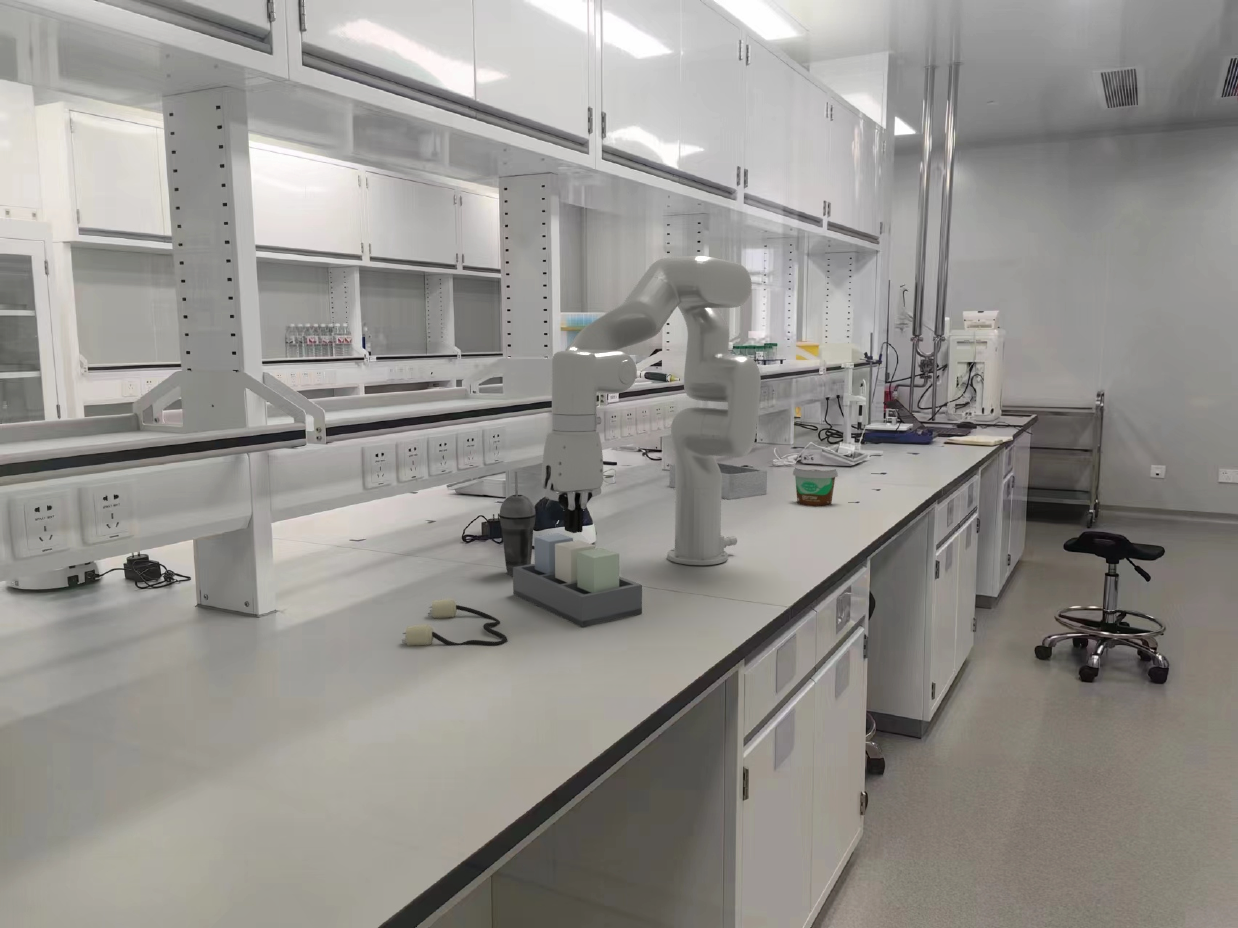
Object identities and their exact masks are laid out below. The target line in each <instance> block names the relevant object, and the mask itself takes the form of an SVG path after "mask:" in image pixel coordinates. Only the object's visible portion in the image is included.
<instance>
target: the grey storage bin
mask: <svg viewBox="0 0 1238 928" xmlns="http://www.w3.org/2000/svg"><path fill="white" fill-rule="evenodd" d="M716 462H717V461H716ZM717 464H718V466H719V468H720V471H721V476H722V487H721V499H727V500H735V499H742V498H749V497H756V496H757V497H758V496H763V495H767V494H768V493H767V492H768V491H767V488H768V487H767V485H768V470H764V469H758V468H753V467H746V466H742V465H741V466H740V465H735V464H729V463H722V462H717ZM675 485H676V467H675V463H670V464H669V487H671V488H674V489H675Z"/></svg>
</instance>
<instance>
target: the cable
mask: <svg viewBox="0 0 1238 928" xmlns="http://www.w3.org/2000/svg"><path fill="white" fill-rule="evenodd" d="M428 609H429V612H427V615H428V616H429V617H433V618H434V619H447V618H450V619H451V618H454V617H455V616H456V614H457V610H458V611H462V612H465V613H469V614H473V615H477V616H479V617H482V618H484V619H487V620H489V621H490V620H491V621H493V622H486V623H484V624H483V625H482V628H483V630H484V631H486V632H487V633H489V634H491V635H493V636H495V637H498V638H499V639H501V640H497V641H491V640H480V639H469V640H466V641H463V642H453V641H452V640H449V639H446V638H445V637H443V636H442V635H440V634H439V633H437V632H435V631H434V629H433V627H432V626H431V625H430V624H419V625H418V624H415V625H408V626H407V627H406V629H405V631H403V632H402V635H405V638H402V639H401V643H402V644H404V643H405V644H406V645H407V646H430V645H431V644H432V643H433V641H434V639H436V640H437V641H439V642H440V643H442V644H444V645H446V646H449V647H450V646H451V647H452V646H453V647H455V646H467V645H468V646H469V645H475V646H488V647H489V646H490V647H495V646H502V645H505V644H506V643H507V642H508V638H507V636H506V635H505V634H504V633H502V632H500V631H497V630H495V629H492V628H495V627H497V626H499V625H500V624H501V621H500V620H499V619H498V618H496V617H494V616H493V615H491V614H488V613H486V612H484V611H480V610H477V609H475V608H470V607H467V606H463V605H458V604H457V602H456V600H454V599H453V598H445V599H436V600H432V605H429V606H428Z"/></svg>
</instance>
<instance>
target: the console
mask: <svg viewBox="0 0 1238 928" xmlns="http://www.w3.org/2000/svg"><path fill="white" fill-rule="evenodd" d="M512 587H513V588H512V589H513V594H512V595H513V596H516V597H518V598H520V599H522V600H524V601H526V602H528V603H531V604H533V605H534V606H537V607H539V608H541V609H542V610H545V611H547V612H549V613H551V614H554V615H555V616H558V617H559V618H562V619H564V620H566V621H568V622H570V623H573V624H575V625H577V626H579V627H581V628H586V627H588V626H589V627H591V626H594V625H600V624H602V623H607V622H612V621H616V620H619V619H625V618H630V617H634V616H638V615H642V614H643V584H642V583H639V582H636V581H634V580H630V579H627V578H624V577H622V576H620V575H619V587H618V588H614V589H609V590H604V591H599V592H594V593H591V592H589V591H586V590H584V589H581V588H579V587H577V581H575V582H570V583H567V582H565V581H562V580H560V579H557V578H555V573H550V574H545V573H543V572H540V571H538V570H536V569H535V563H531V564H530V565H524V566H518V567H513V576H512Z"/></svg>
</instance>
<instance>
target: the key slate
mask: <svg viewBox="0 0 1238 928" xmlns="http://www.w3.org/2000/svg"><path fill="white" fill-rule="evenodd" d="M533 539H534V545H533V546H534V548H533V549H534V551H533V552H534V564H535V569H536V570H538V571H540V572H543V573H545V574H550V573H555V544H558V543H564V542H570V541H574V537H571V536H569V535H565V534H562V533H559V532H555V533H550V534H549V533H548V534H543V535H537V536H533Z"/></svg>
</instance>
